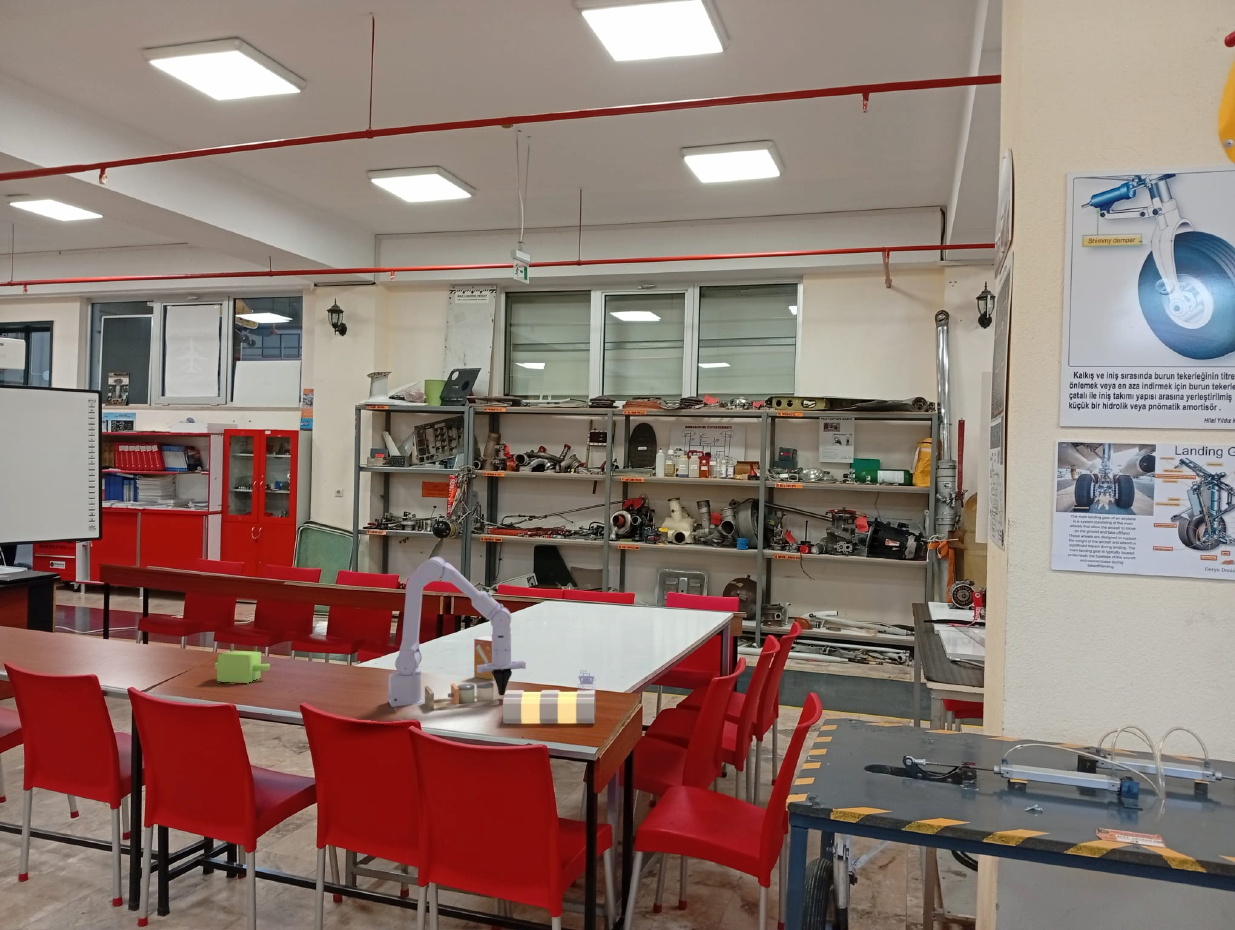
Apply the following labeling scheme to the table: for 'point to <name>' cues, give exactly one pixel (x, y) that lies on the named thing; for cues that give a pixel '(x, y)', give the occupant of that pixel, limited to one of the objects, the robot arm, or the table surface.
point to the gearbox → (240, 666)
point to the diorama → (551, 705)
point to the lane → (450, 702)
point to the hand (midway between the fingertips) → (501, 694)
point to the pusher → (454, 694)
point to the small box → (483, 655)
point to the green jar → (466, 693)
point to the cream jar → (485, 691)
